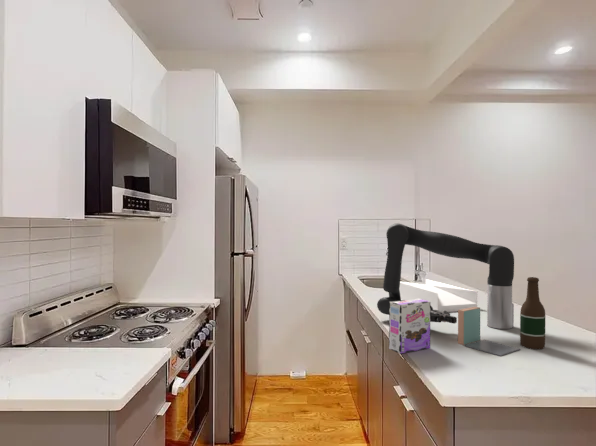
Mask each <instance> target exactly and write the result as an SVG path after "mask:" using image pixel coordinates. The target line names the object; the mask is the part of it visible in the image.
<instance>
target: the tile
mask: <svg viewBox="0 0 596 446" xmlns="http://www.w3.org/2000/svg"><path fill="white" fill-rule="evenodd" d="M478 341H481V307H478V306H477V307H470V308H465V309H460V310H458V311H457V343H458V344H459V345H462V346H465V345H467V344H470V343H474V342H478Z"/></svg>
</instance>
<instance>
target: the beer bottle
mask: <svg viewBox="0 0 596 446" xmlns="http://www.w3.org/2000/svg"><path fill="white" fill-rule="evenodd" d="M526 281H527V288H526V297H525V298H526V299H525V301H524V302H523V303H522V305H521V307H520V317H519V318H520V319H519V321H520V322H519V331H520V332H519V336H520V337H519V342H520V346H521V345H522V347H523V346H524V347H523V348H525V347H526V349H530V348H531V350H543V349H544V348H545V346H546V309H545V307H544V305H543V304H542V302H541V300H540V291H539V290H540V289H539V282H540V279H539V278H538V277H534V276H533V277H531V276H529V277H527V279H526Z"/></svg>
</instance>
